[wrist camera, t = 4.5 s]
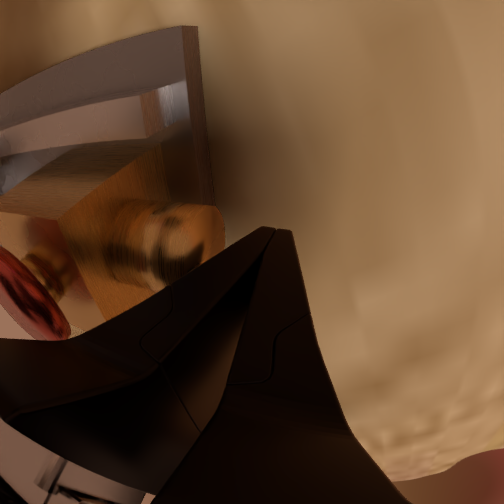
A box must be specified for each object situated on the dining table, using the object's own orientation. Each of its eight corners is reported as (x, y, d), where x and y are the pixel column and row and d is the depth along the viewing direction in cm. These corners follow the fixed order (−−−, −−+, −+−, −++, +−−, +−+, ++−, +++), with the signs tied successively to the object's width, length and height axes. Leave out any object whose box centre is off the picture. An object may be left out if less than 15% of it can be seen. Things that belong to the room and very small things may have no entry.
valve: (230, 143, 8) (87, 287, 4) (240, 264, 11) (167, 412, 7) (26, 155, 11) (-65, 224, 7) (53, 230, 14) (-19, 304, 10)
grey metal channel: (197, 26, 7) (27, 42, 3) (228, 305, 15) (176, 414, 10) (-37, 120, 12) (-95, 159, 8) (9, 245, 20) (-34, 290, 15)
